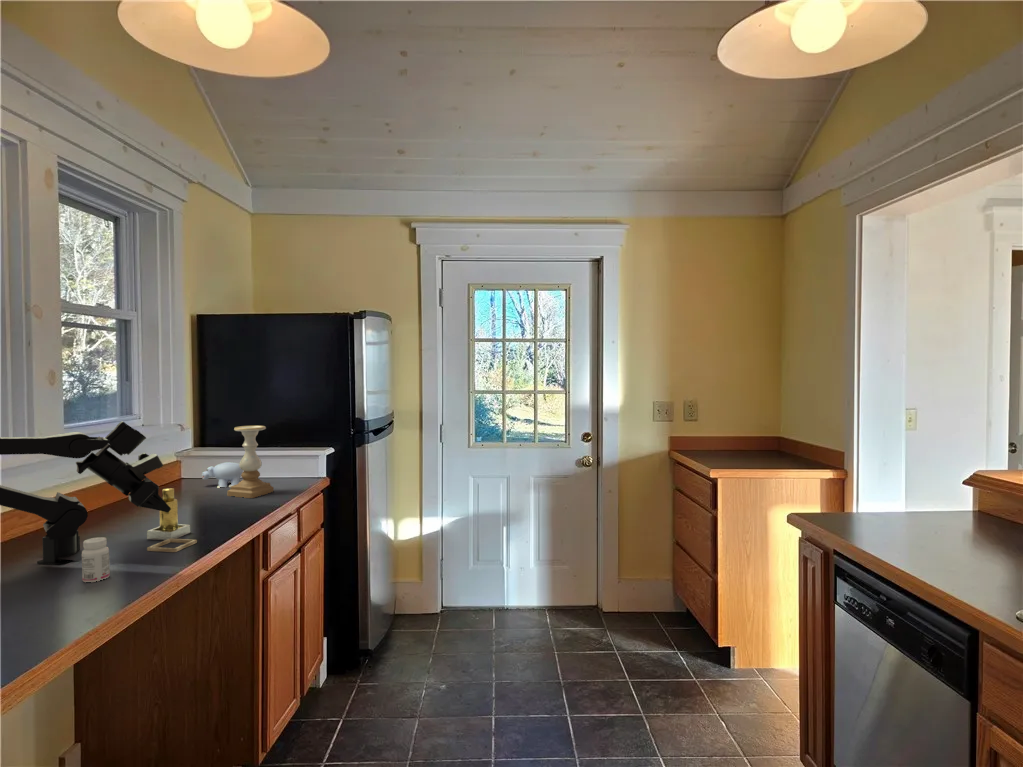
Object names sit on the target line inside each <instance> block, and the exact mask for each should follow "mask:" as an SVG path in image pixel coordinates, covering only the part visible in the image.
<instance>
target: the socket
mask: <svg viewBox="0 0 1023 767" xmlns="http://www.w3.org/2000/svg"><path fill="white" fill-rule="evenodd" d="M191 532H192V531H191V525H190V524H184V523H183V524H181V523H180V524H179V523H178V529H175V530H173V531H160V525H159V526H157V527H154V528H151V529H149V530H146V540H159V541H165V540H167V539H170V538H172V539H179V538H181V537H183V536H185V535H189V534H190V533H191Z"/></svg>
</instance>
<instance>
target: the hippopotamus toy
mask: <svg viewBox="0 0 1023 767" xmlns="http://www.w3.org/2000/svg"><path fill="white" fill-rule="evenodd" d="M243 472H244V471H243V470H241V469H240V467H239V463H238V462H229V461H228V462H221V463H218V464H216V465H215V466H213V465H211V466H209V467H207V468H206V470H205V471H202V473H201V477H202V480H208V479H211V478H213V479H214V478H215V479H216V480H218V484H217V487H216V488H217V489H221V488H220V487H225V488H231V486H233V485H237V484H238V483H239V482H241V478H242V477H241V474H242V473H243ZM230 483H231V484H230ZM228 484H229V485H228Z"/></svg>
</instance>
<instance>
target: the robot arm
mask: <svg viewBox="0 0 1023 767" xmlns="http://www.w3.org/2000/svg"><path fill="white" fill-rule="evenodd" d="M146 439H147V437H146V436H145V435H144V434H143V433H141V432H140V431H139V430H137V429H135V428H133V427H132V426H130V425H129V424H127V423H126V422H125V421H123V420H122V421H120V422H119V423H118V424H117V425H116V427H114V429H113V430H111V431H110V432H109V433H108V434H107V435H106V436H105V437H104V436H99V435H98V436H88V435H87V434H86V433H84V432H81V431H73V432H65V433H59V434H58V433H57V434H53V435H47V436H0V456H2V455H4V456H6V455H7V456H8V455H11V456H12V455H47V456H54V457H55V456H56V457H61V458H67V459H68V458H69V459H70V458H71V459H83V460H80V461H79V460H78V461H75V464H76V472H77V474H79V475H81V474H83V473H84V472H85V471H86V470H89V471H90V472H92V473H93V474H95V475H96V476H97V477H99V478H100V479H102V480H103V481H104V482H106V483H107V484H108V485H110V486H111V487H113V488H115V489H116V490H118V491H119V492H120V493H122V494H123V495H125V496H126V497H128V500H129V502H130V503H132V505H135V506H136V507H137V508H138V507H139V508H144V509H145V508H146V509H150V510H155V511H159V512H160V511H164V512H169V511H170V510H171V508H170V507H169V506H168V505H167V504H166V502H165V501H164V500H163V498H162V496H160V494H159V490H160V487H159V485H158V484H157V483H156V482H154V481H152V480H151V479H150V478H148V477H147V476H146V475H147V474H149V473H151V472H153V471H155V470H158V469H161V468H162V467H164V464H163V462H162V461H161V459H160V456H158V454H156V453H150V454H147V453H145V452H143V453H140V454H138V458H137V459H138V460H137V461H135V462H134V463H132V464H130V463H129V462H125V461H124V460H123V459H120V458H119V457H118V456H120V457H122V456H123V455H124V456H125V455H127V456H129V455H130V454H131V453H133V451H134V450H136V449H137V448H138V447H139V446H140V445H141V443H143V441H145V440H146ZM108 449H111V450H112V451H114V452H115V453H116V454H118V456H117V455H115V454H114V453H112V452H111V451H109V450H108ZM94 451H97V452H96V453H94ZM0 506H1V507H6V508H9V509H10V508H11V509H14V510H17V511H20V512H21V511H22V512H25V513H28V514H33V515H36V516H38V517H40V518H42V519H43V520H45V522H44V523H43V524H42V525H43V529H44V531H45V536H43V537H42V559H40V560H38V561H36V563H37V565H55V566H56V565H57V566H61V565H65V564H67V563H71V562H73V561H74V559H66V557H70V556H72V555H75V554H77V552H79V551H81V538H80V537H81V536H80V534H79V528H80V527H81V526H82V525H84V524H85V522H86V521H87V519H88V515H89V514H88V510H87V508H86V507H85V506H84V504H83V503H82V502H81V501H80V500H79V499H78V498H77V496H68V495H65V494H63V493H61V492H56V494H55V497H49V496H47V497H45V496H40V495H38V494H35V493H34V494H33V493H30V492H27V491H22V490H18V489H15V488H11V487H8V486H4V485H1V484H0ZM62 558H63V559H62Z"/></svg>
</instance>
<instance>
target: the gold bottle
mask: <svg viewBox="0 0 1023 767" xmlns="http://www.w3.org/2000/svg"><path fill="white" fill-rule="evenodd" d="M161 490H162V492H161V494H162V496H161V498H162V499H163V500H164V501H165V502H166V504H167V505H168V506H169V507H170V508H171V510H170V511H169V512H164V511H159V526H160V531H173V530H175V529H178V524H179V521H178V519H179V516H178V513H179V512H178V511H179V510H178V499H176V498H175V488H174V487H173V488H171V487H170V488H163V489H161Z"/></svg>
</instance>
